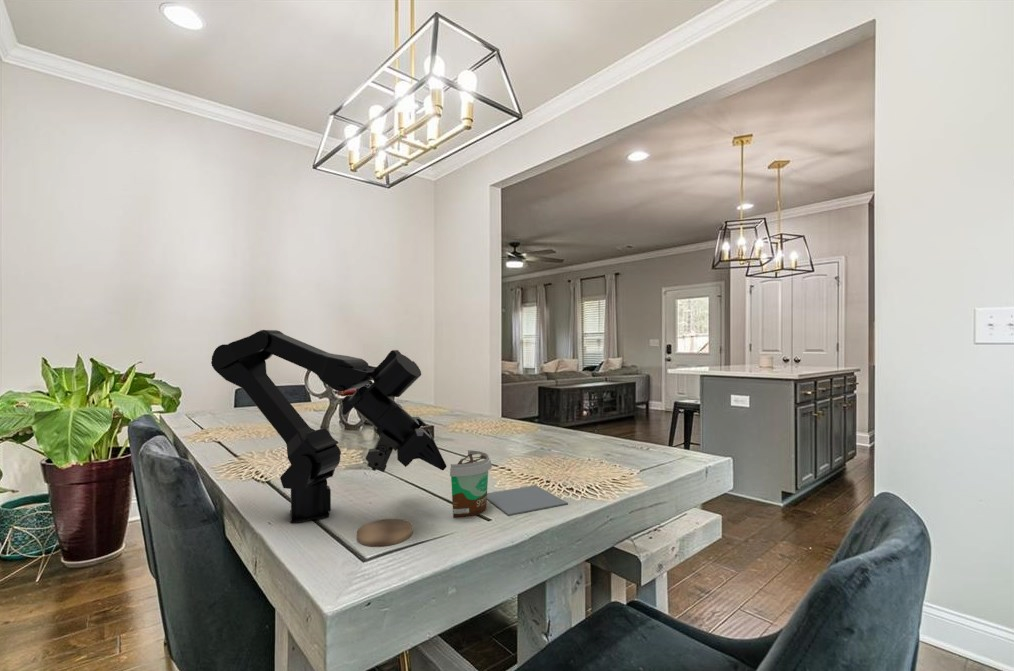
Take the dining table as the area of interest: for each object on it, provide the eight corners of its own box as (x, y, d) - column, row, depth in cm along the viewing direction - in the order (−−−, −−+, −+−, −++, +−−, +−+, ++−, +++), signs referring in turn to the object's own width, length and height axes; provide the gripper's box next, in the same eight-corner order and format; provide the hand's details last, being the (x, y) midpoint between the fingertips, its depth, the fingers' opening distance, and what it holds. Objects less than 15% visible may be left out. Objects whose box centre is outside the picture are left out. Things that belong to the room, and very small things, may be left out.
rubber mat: (508, 515, 87) (508, 514, 87) (481, 495, 98) (481, 494, 98) (568, 504, 92) (568, 502, 92) (535, 486, 104) (535, 485, 104)
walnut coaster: (361, 550, 73) (361, 544, 73) (353, 530, 81) (353, 524, 81) (418, 539, 77) (418, 533, 77) (405, 521, 85) (405, 515, 85)
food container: (483, 522, 84) (482, 466, 84) (450, 520, 85) (449, 465, 85) (498, 499, 96) (497, 450, 96) (469, 498, 97) (468, 449, 97)
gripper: (355, 436, 94) (412, 486, 96) (345, 458, 76) (416, 519, 78) (395, 394, 96) (450, 445, 98) (395, 406, 78) (463, 468, 80)
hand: (444, 468), depth 89 cm, fingers closed
